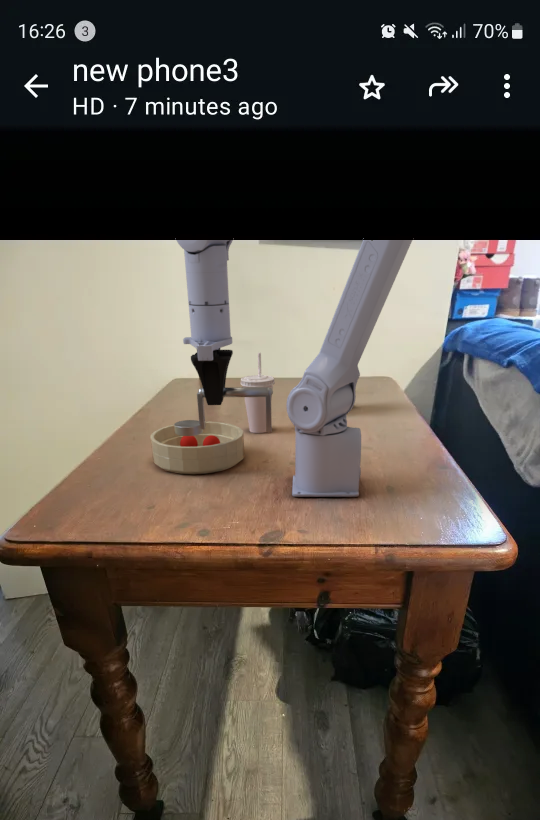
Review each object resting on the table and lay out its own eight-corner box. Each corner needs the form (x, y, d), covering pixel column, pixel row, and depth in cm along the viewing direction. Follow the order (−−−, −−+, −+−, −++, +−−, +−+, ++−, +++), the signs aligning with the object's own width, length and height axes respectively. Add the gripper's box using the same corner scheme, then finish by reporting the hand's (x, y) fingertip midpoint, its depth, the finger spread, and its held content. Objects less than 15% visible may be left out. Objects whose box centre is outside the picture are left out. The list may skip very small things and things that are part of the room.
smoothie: (281, 431, 112) (281, 353, 105) (254, 437, 109) (251, 357, 102) (263, 424, 117) (261, 349, 110) (236, 429, 114) (232, 353, 107)
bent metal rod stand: (172, 436, 90) (167, 391, 86) (177, 428, 93) (173, 385, 90) (272, 435, 89) (272, 390, 85) (274, 428, 93) (273, 384, 89)
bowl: (247, 446, 104) (246, 421, 102) (239, 475, 92) (238, 447, 89) (164, 446, 105) (161, 421, 103) (144, 475, 92) (140, 447, 90)
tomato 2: (222, 450, 101) (220, 433, 99) (219, 455, 98) (218, 438, 97) (204, 450, 101) (203, 433, 99) (202, 455, 98) (200, 438, 97)
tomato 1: (199, 449, 101) (198, 432, 100) (196, 454, 99) (195, 437, 97) (182, 449, 102) (180, 432, 100) (179, 455, 99) (177, 437, 98)
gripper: (188, 299, 88) (196, 392, 95) (171, 309, 76) (181, 415, 83) (235, 299, 88) (239, 392, 95) (224, 308, 75) (230, 415, 83)
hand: (215, 403), depth 89 cm, fingers closed on bent metal rod stand
